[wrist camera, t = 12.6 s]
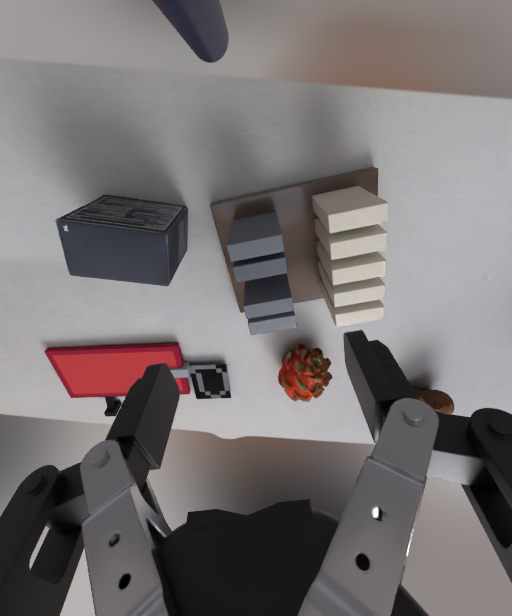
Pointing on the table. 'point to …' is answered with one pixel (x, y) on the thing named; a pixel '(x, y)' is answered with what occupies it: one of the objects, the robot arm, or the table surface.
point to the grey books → (262, 272)
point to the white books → (351, 250)
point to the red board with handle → (131, 371)
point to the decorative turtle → (436, 400)
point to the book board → (290, 226)
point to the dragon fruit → (304, 373)
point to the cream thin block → (352, 266)
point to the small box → (125, 240)
